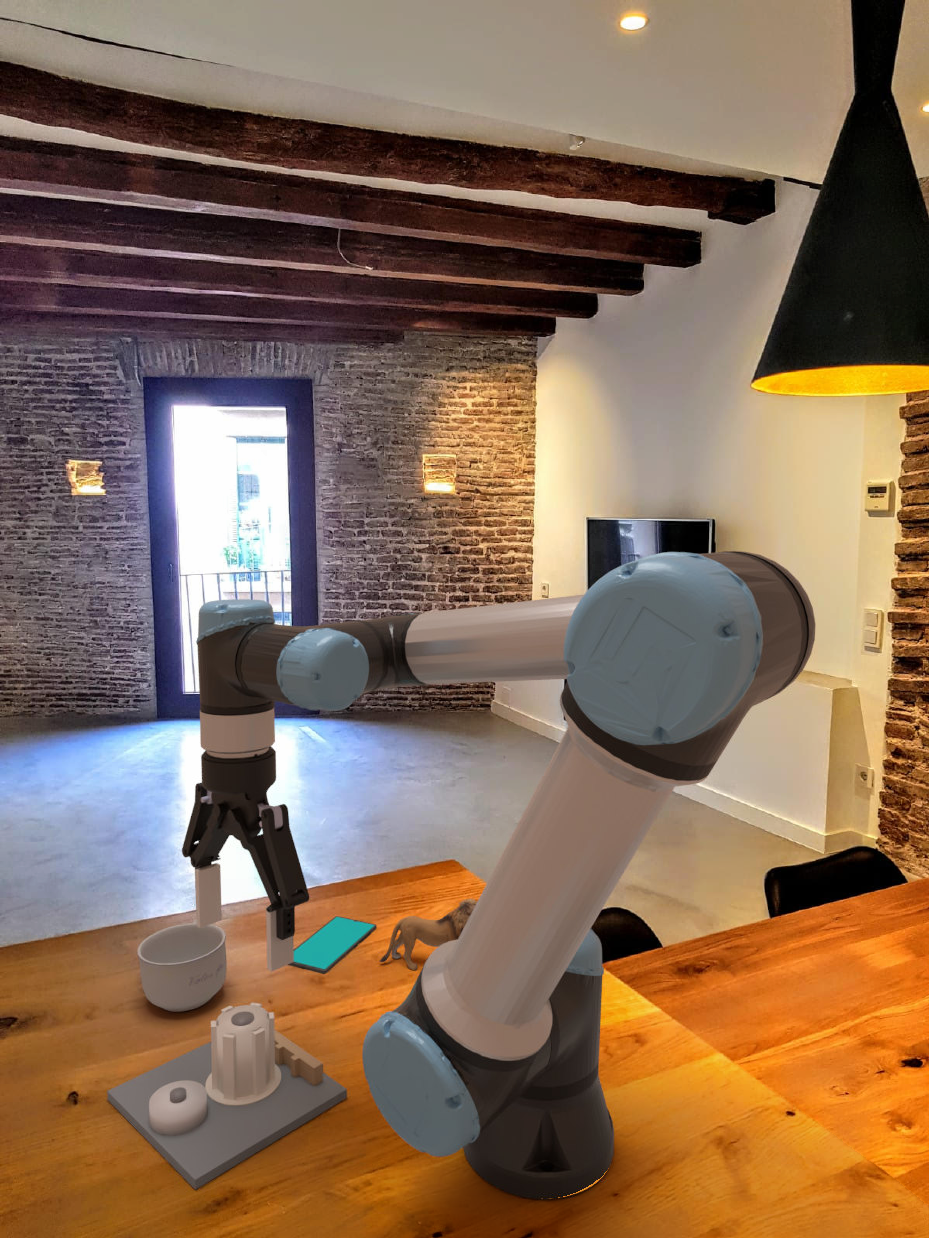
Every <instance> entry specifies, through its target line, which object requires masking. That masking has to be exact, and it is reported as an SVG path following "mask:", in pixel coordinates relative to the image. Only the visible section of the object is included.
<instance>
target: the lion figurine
mask: <svg viewBox="0 0 929 1238" xmlns="http://www.w3.org/2000/svg"><path fill="white" fill-rule="evenodd" d="M477 902H478V900H476V899H474V898H467V899H464V900H462V901H460V902H459V906H457V908H454V909H453V910H451V911H450V912H448V913H447V914H446V915H444V916H443V917H442V918H439V919H426V918H422V917H419V916H416V915H409V916H406V917H403V918H401V919H400V920H399V921H398V922H397V923H396V924H395V926H394V928H393V930H392V933H391V937H390V941H389V945H388V950H387V951H386V953H385V955H382V957H381V959H380V960H379V963H385V962H386V961H387V960H388V959H389V958H390V955H391V957H392V958H393V959H396V960H397V959H400V958H401V957H402V954H401V953H400V952H398V949H399V948H400V947H401V946H403V947H404V952H403V959H404V961H405V962H406V964H407V967H408V968H409V970H412V971H416V970H417V969H418V963H416V962H413V960H412V958H411V956H412V952H413V950H414V948H415V945H416V941H417V940H418V941H420V942H422V943H423V944H424V945H426V946H429V947H435V948H438V947H439V946H440V945H442V944H444V943H446V942H449V941H453V940H458V938H459V936H460V934H461V933H462V931H463V929H464V927H465V925H466V923H467V921H468V919H469V917H470V915H471V913H472V911H473V909H474V908H475V906H476V904H477ZM399 931H400V932H399ZM398 932H399V935H398ZM397 935H398V937H397Z"/></svg>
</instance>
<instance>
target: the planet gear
mask: <svg viewBox="0 0 929 1238" xmlns="http://www.w3.org/2000/svg"><path fill="white" fill-rule="evenodd" d="M262 1005H263V1004H262V1003H258V1002H251V1003H250V1004H244V1005H238V1006H233V1005H229V1006H226V1007H224V1008H222V1009H221V1010H220V1012H221V1014H219V1015H218V1017H217V1019H216V1020H211V1021H210V1037H211V1038H210V1042H211V1057H212V1089H214V1088H218V1089H219V1091H220V1092H221V1093H223V1094H224V1099H229V1100H235V1099H236V1097H244V1096H249V1095H252V1094H254V1095H255V1096H258V1095H260V1094H262V1093H264V1092H265V1091H266V1085H267V1084H268V1082H269V1080H270V1079H273V1078H275V1030H276V1029H275V1014H274V1013H275V1012H274V1011H270V1012H269V1011H267V1009H265V1008H263V1006H262Z"/></svg>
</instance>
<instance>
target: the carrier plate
mask: <svg viewBox="0 0 929 1238" xmlns="http://www.w3.org/2000/svg"><path fill="white" fill-rule="evenodd" d="M323 1065H324V1064H323V1062H322V1061H321V1060H318V1058H316V1057H314V1056H313V1055H312V1054H311V1053H308V1051H306V1050H305V1049H303V1048H301V1047H300V1046H299V1045H297V1044H296V1043H294V1042H293V1041H291V1040H290V1039H289V1038H287V1037H286V1036H284V1035H283V1034H282V1033H280V1032H279V1031H277V1030H276V1029H275V1078H273V1079H270V1080H269V1082H268V1084H267V1085H266V1091H265V1092H264V1093H262V1094H260V1095H258V1096H255V1095H254V1094H252V1095H249V1096H244V1097H236V1099H235V1100H229V1099H224V1094H223V1093H221V1092H220V1091H219V1089H218V1088H214V1089H212V1057H211V1041H209V1042H207V1043H205V1044H203V1045H200V1046H199V1047H198V1046H197V1048H195V1049H194V1048H193V1049H192V1050H191V1051H188V1052H186V1053H184V1054H182V1055H180V1056H178V1057H176V1058H173V1059H171V1060H169V1061H167V1062H165V1063H163V1064H161V1065H159V1066H157V1067H154V1068H152V1069H150V1070H148V1071H146V1072H144V1073H142V1074H140V1075H138V1076H136V1077H133V1078H132V1079H129V1080H128V1081H125V1082H123V1083H121V1084H118V1085H117V1086H115V1087H113V1088H111V1089H110V1088H109V1090H107V1092H106V1094H107V1095H106V1096H107V1098H106V1099H107V1101H108V1102H109V1103H110V1104H111V1105H112V1106H113V1107H114V1108H115V1109H116V1110H117V1111H118V1112H119V1113H120V1114H121V1115H122V1117H124V1118H125V1119H126V1120H127V1121H128V1123H130V1124H131V1125H132V1127H133V1128H134V1129H135V1130H137V1132H138V1133H139V1134H140V1135H142V1136H143V1137H144V1139H145V1140H146V1141H147V1142H148V1143H149V1144H150V1145H151V1146H152V1147H153V1148H154V1149H155V1150H156V1151H157V1152H158V1153H159V1154H160V1155H161V1157H162V1158H164V1160H165V1161H167V1162H168V1164H169V1165H170V1166H172V1168H174V1170H175V1171H177V1173H178V1174H179V1175H180V1176H181V1177H182V1178H183V1179H184V1180H185V1181H186V1182H187V1184H189V1185H190V1186H191V1187H192V1188H193V1189H194V1190H198V1189H199V1188H201V1187H202V1186H204V1185H206V1184H207V1183H209V1182H211V1181H213V1180H214V1179H216V1178H217V1177H218V1176H220V1175H223V1174H224V1173H225V1172H227V1171H228V1170H230V1169H232V1168H234V1167H235V1166H237V1165H238V1164H240V1163H242V1162H243V1161H246V1160H247V1159H249V1158H250V1157H251V1156H254V1155H255V1154H257V1153H259V1152H260V1151H262V1150H263V1149H265V1148H267V1147H268V1146H270V1145H272V1144H273V1143H274V1142H277V1141H278V1140H279V1139H282V1138H283V1137H284V1136H286V1135H288V1134H289V1133H291V1132H293V1131H295V1130H296V1129H298V1128H300V1127H301V1126H303V1125H304V1124H306V1123H308V1122H309V1121H311V1120H312V1119H314V1118H316V1117H318V1116H320V1115H322V1114H323V1113H324V1112H325V1111H327V1110H329V1109H331V1108H332V1107H335V1106H336V1105H337V1104H339V1103H340V1102H342V1101H344V1100H345V1099H347V1098H348V1089H347V1088H346V1087H344V1086H343V1085H341V1084H340V1083H339V1082H338V1081H336V1080H335V1079H333V1078H332V1077H331V1076H329V1075H327V1074H326V1073H324V1071H323V1070H324V1066H323Z"/></svg>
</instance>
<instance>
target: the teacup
mask: <svg viewBox="0 0 929 1238" xmlns="http://www.w3.org/2000/svg"><path fill="white" fill-rule="evenodd" d="M226 939H227V935H226V932H225V930H223V928H222V927H220V926H218V925H216V924H210V925H207V926H205V927H202V928H199V927H197V925H196V918H194V920H193V921H192V922H191V923H189V922H188V923H182V924H177V925H172V926H169V927H166V928H162V929H160V930H158V931H156V932H154V933H153V934H150V935H149V936H147V937H146V938H144V939H143V941H141V943H140V944H139V945H138V948H137V952H136V953H137V957H138V959H139V960H138V961H139V962H138V964H139V972H140V978H141V984H142V986H141V987H142V990H143V993H144V995H145V997H146V999H147V1000H148V1001H149V1002H150V1004H152V1005H155V1006H156V1007H159V1008H161V1009H163V1010H166V1011H168V1012H179V1013H180V1012H185V1011H187V1012H188V1011H190V1010H194V1009H197V1008H199V1007H201V1006H204V1005H205V1004H206V1003H207V1002H209V1001H210V1000H211V999H212V998H213V997H214V996H215V995H216V994H217V993H218V992H219V991H220V990H221V988H222V987H223V985H224V982H225V981H226V978H227V977H226V976H227V970H228V969H227V949H226Z"/></svg>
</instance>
